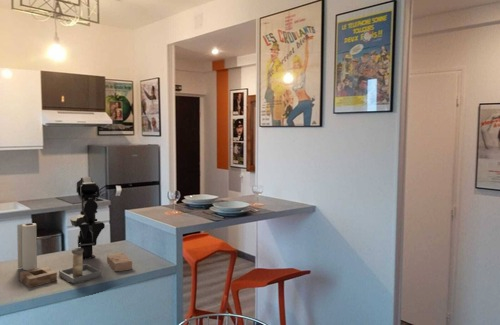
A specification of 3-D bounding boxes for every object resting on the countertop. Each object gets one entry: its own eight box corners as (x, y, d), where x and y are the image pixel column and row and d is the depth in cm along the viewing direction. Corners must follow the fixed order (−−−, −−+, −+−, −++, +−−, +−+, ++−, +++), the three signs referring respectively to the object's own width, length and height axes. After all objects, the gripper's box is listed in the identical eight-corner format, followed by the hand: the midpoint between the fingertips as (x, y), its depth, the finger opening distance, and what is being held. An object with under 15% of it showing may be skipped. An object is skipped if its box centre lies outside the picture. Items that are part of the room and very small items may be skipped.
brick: (106, 262, 204) (106, 253, 203) (122, 260, 208) (123, 251, 208) (115, 273, 190) (115, 263, 189) (132, 270, 194) (132, 260, 194)
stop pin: (69, 279, 178) (69, 250, 177) (76, 275, 183) (76, 247, 182) (79, 280, 177) (79, 251, 176) (85, 276, 182) (85, 248, 181)
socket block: (19, 280, 177) (19, 272, 176) (45, 273, 185) (45, 266, 185) (30, 287, 170) (30, 279, 169) (56, 280, 178) (56, 272, 178)
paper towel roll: (39, 267, 192) (39, 223, 191) (28, 271, 187) (27, 226, 185) (29, 265, 195) (29, 221, 194) (17, 268, 190) (17, 224, 188)
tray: (59, 276, 183) (59, 270, 183) (86, 269, 193) (86, 263, 193) (73, 284, 174) (73, 278, 174) (101, 276, 184) (101, 271, 184)
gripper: (63, 207, 194) (63, 239, 195) (82, 214, 182) (82, 248, 183) (85, 204, 202) (85, 235, 203) (105, 210, 190) (105, 243, 191)
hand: (89, 240), depth 195 cm, fingers open, 9 cm apart
